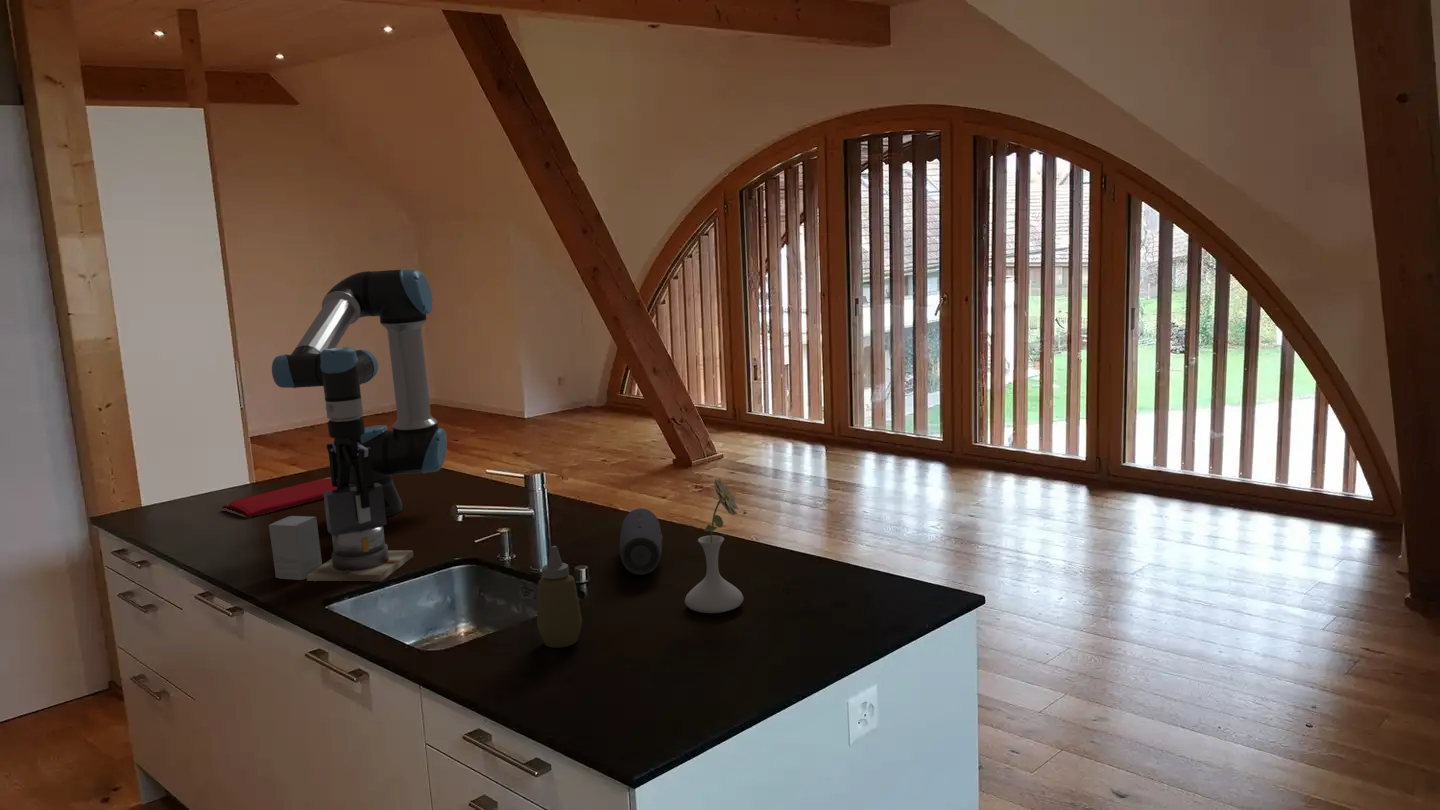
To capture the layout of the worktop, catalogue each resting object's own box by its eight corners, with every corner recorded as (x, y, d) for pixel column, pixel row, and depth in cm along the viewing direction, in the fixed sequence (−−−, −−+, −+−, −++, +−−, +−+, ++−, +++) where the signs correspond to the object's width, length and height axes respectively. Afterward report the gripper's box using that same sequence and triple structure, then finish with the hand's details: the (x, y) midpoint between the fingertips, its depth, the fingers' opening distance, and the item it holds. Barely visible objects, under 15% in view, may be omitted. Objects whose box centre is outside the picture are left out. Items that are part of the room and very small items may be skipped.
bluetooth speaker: (664, 579, 224) (662, 533, 222) (620, 582, 223) (617, 536, 222) (662, 546, 246) (660, 504, 245) (622, 549, 246) (619, 507, 244)
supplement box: (324, 570, 241) (317, 516, 239) (301, 581, 234) (294, 525, 232) (297, 568, 244) (291, 514, 241) (274, 578, 237) (267, 524, 234)
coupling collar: (326, 548, 241) (319, 488, 239) (380, 538, 248) (373, 479, 245) (338, 561, 231) (331, 499, 229) (394, 550, 238) (387, 489, 235)
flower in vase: (724, 622, 198) (717, 492, 194) (673, 613, 204) (666, 486, 200) (759, 599, 209) (753, 476, 205) (710, 591, 215) (703, 471, 211)
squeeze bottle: (540, 635, 196) (532, 541, 193) (584, 632, 197) (577, 538, 194) (536, 653, 188) (528, 555, 185) (582, 649, 189) (575, 552, 186)
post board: (344, 556, 250) (342, 538, 249) (413, 556, 248) (411, 537, 247) (307, 581, 234) (305, 562, 233) (381, 581, 231) (378, 561, 230)
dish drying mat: (221, 512, 299) (219, 499, 298) (353, 480, 329) (352, 469, 328) (248, 520, 288) (246, 507, 288) (382, 487, 319) (380, 475, 318)
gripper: (306, 418, 237) (318, 518, 241) (354, 424, 226) (366, 530, 230) (336, 412, 243) (347, 510, 247) (385, 418, 232) (395, 521, 236)
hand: (356, 519), depth 239 cm, fingers closed on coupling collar, 5 cm apart
